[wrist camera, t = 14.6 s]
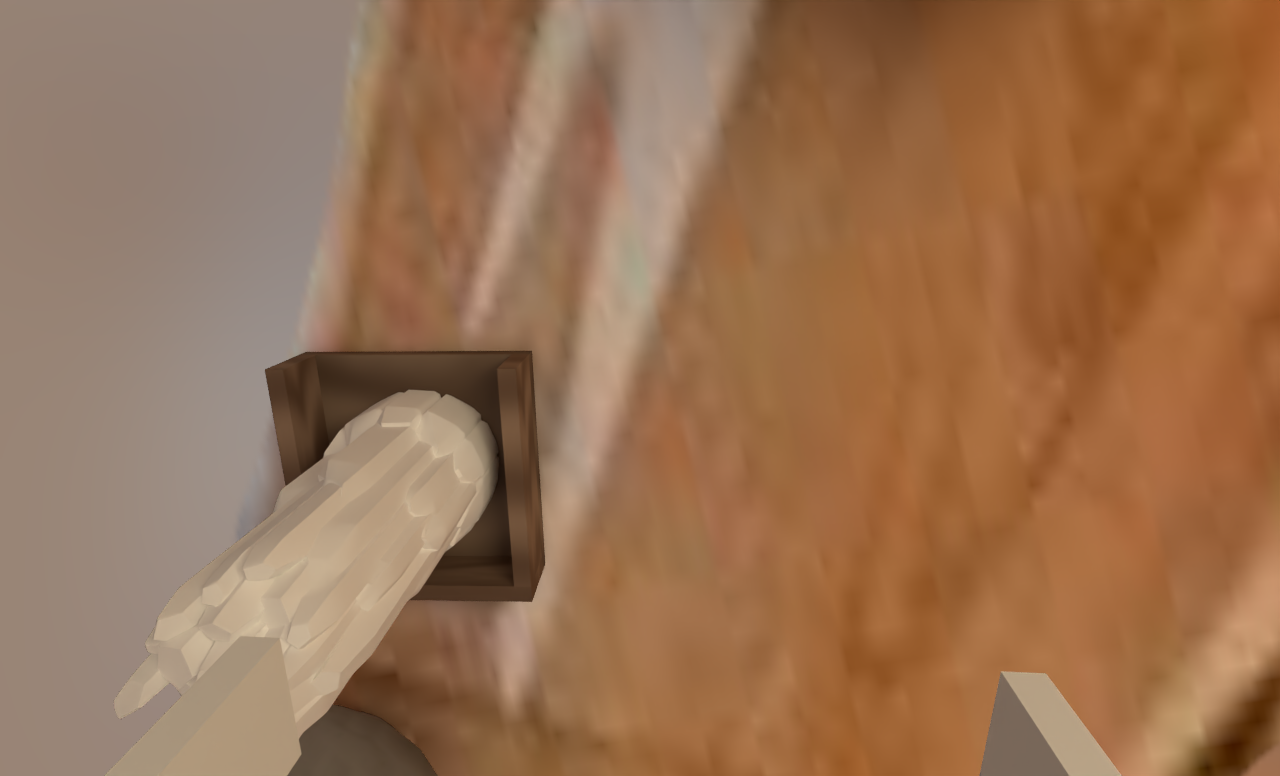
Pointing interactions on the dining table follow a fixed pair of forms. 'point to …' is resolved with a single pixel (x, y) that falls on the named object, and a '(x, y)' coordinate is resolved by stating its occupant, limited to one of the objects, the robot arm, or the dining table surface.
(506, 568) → the brown wooden tray
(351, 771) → the flower arrangement
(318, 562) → the decorative vase
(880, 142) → the dining table surface
